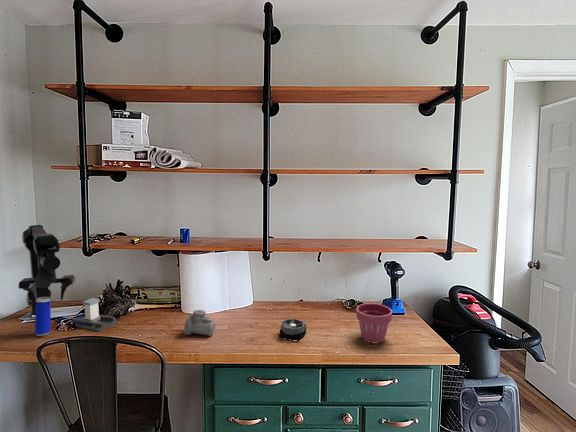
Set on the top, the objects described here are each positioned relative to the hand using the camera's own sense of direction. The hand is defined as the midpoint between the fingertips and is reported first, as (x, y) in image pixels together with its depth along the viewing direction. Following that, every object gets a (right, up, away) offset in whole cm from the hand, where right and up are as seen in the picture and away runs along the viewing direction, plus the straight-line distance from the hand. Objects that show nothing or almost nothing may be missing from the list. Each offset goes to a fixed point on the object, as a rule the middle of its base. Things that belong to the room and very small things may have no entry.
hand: (49, 301), depth 146 cm
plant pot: (+136, -16, -1) cm, 137 cm away
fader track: (+14, -13, +9) cm, 21 cm away
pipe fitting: (+63, -15, +1) cm, 65 cm away
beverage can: (-2, -14, -1) cm, 14 cm away
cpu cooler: (+102, -15, +1) cm, 104 cm away
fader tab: (+13, -11, +10) cm, 19 cm away
